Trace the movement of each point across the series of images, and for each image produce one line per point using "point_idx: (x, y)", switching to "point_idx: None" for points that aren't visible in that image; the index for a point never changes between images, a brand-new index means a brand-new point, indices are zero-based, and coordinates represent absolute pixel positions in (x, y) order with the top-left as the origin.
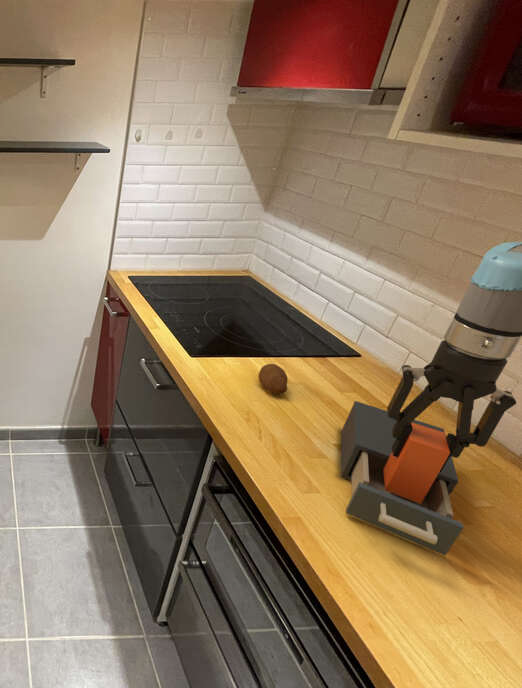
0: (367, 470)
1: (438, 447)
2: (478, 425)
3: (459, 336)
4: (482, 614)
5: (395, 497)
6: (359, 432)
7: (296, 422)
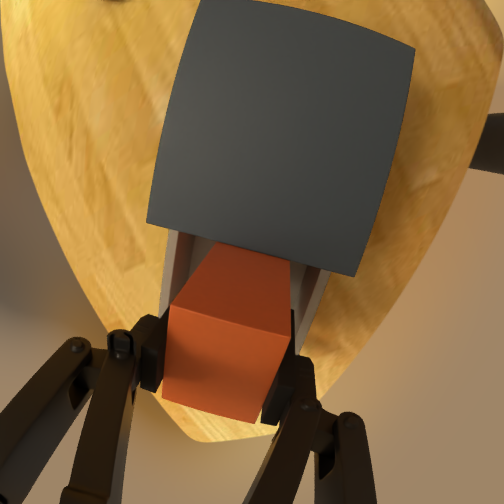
0: (167, 290)
1: (229, 412)
2: (334, 471)
3: None
4: None
5: None
6: (164, 159)
7: (136, 57)
